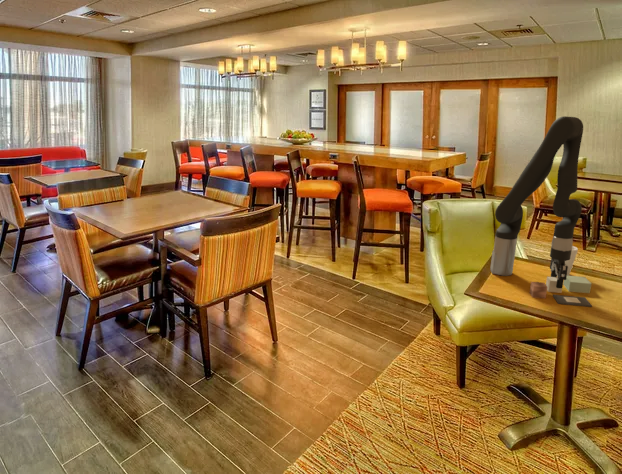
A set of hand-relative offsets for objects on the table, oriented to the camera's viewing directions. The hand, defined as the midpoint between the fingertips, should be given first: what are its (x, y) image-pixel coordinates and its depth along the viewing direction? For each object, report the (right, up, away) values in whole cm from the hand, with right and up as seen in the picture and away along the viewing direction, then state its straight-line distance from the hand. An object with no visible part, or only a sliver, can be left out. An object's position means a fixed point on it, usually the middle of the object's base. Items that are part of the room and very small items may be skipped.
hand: (556, 284), depth 195 cm
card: (+1, -6, -10) cm, 12 cm away
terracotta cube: (-10, -4, -5) cm, 12 cm away
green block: (+10, -2, +3) cm, 11 cm away
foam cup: (+13, +3, +20) cm, 24 cm away
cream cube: (-1, -3, +1) cm, 3 cm away
